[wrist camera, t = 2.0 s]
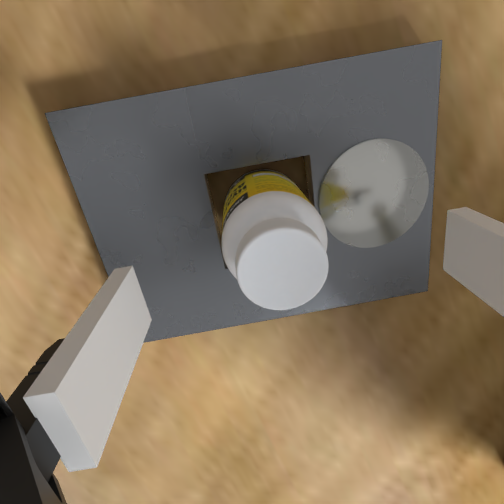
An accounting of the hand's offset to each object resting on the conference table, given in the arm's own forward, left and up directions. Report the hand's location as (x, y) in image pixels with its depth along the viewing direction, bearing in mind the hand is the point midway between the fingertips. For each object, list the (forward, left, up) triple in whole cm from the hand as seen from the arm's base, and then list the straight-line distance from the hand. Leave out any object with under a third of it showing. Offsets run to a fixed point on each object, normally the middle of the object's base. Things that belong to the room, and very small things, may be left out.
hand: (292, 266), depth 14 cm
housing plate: (0, 0, -10) cm, 10 cm away
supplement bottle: (0, 0, -10) cm, 10 cm away
